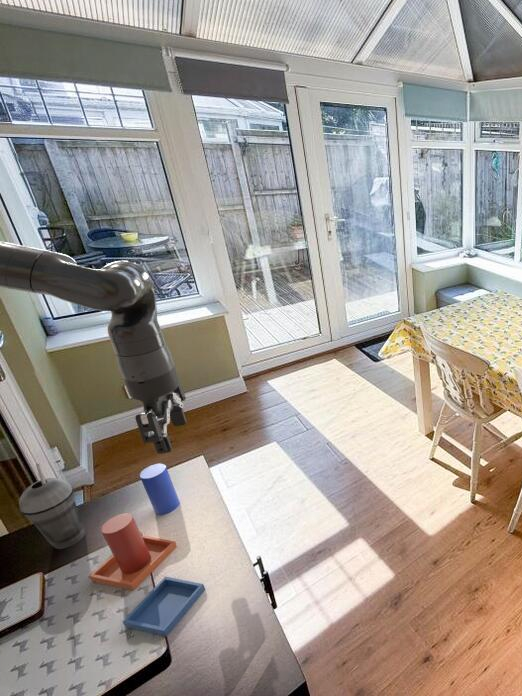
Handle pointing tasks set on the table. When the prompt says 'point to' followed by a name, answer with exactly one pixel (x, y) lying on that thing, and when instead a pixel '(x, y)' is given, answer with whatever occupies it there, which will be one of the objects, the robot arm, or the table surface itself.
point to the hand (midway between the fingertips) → (173, 437)
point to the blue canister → (159, 489)
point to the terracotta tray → (114, 577)
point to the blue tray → (164, 606)
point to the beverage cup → (53, 510)
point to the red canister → (126, 543)
